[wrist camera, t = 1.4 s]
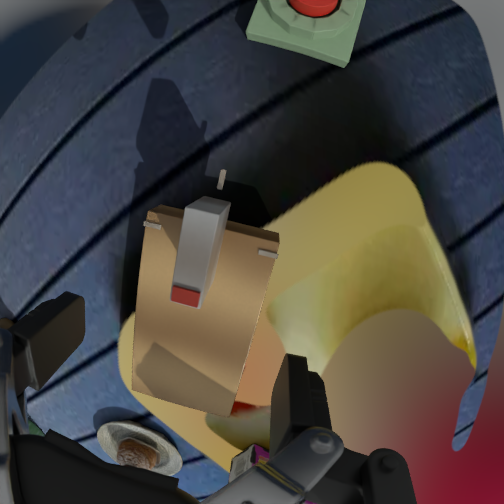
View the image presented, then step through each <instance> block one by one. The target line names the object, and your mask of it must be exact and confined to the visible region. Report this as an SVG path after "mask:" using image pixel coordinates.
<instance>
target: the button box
mask: <svg viewBox="0 0 504 504" xmlns="http://www.w3.org/2000/svg"><path fill="white" fill-rule="evenodd" d="M365 2H366V0H338V2H337V5H336V7H335V9H334V10H333V11H332V12H330V13H329V14H327V15H324V16H317V17H316V16H308V15H305V14H302V13H300V12H299V11H297V10H296V9H295V8H293V6H292V5H291V4H290V2H289V0H258V1H257V3H256V6H255V9H254V11H253V14H252V16H251V19H250V22H249V24H248V27H247V30H246V35H247V39H249V40H253V41H257V42H262V43H266V44H269V45H273V46H277V47H281V48H284V49H288V50H291V51H295V52H298V53H301V54H305V55H308V56H311V57H314V58H317V59H320V60H323V61H326V62H329V63H332V64H334V65H337V66H340V67H343V68H344V67H345V66H346V65H347V63H348V62H349V59H350V55H351V52H352V49H353V45H354V42H355V38H356V35H357V31H358V27H359V24H360V20H361V17H362V13H363V9H364V6H365Z"/></svg>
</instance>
